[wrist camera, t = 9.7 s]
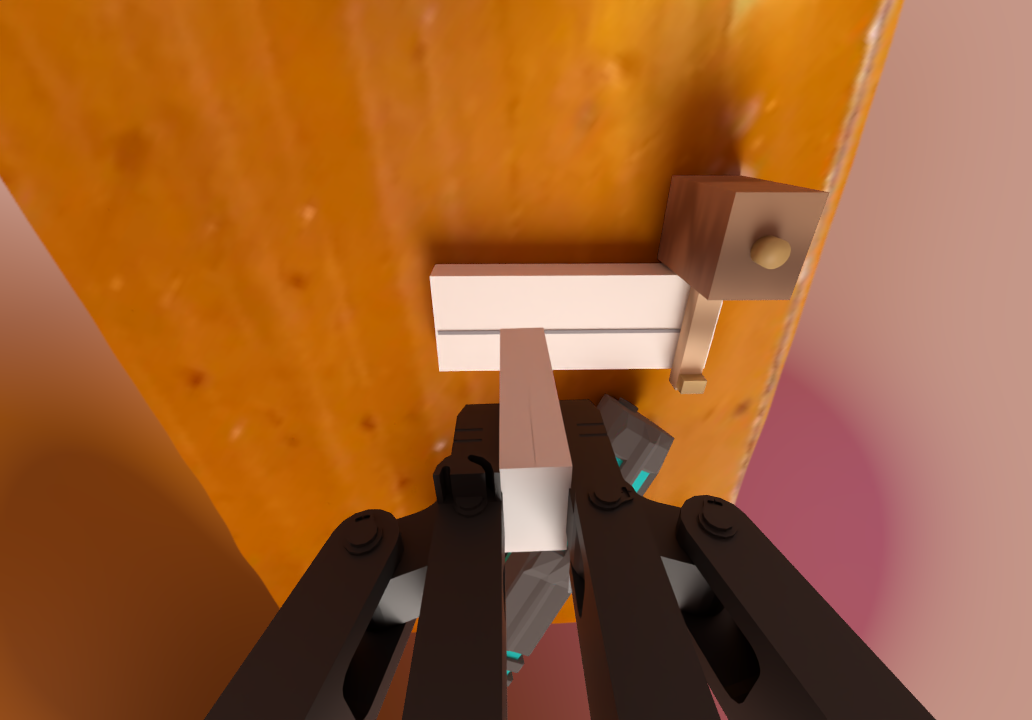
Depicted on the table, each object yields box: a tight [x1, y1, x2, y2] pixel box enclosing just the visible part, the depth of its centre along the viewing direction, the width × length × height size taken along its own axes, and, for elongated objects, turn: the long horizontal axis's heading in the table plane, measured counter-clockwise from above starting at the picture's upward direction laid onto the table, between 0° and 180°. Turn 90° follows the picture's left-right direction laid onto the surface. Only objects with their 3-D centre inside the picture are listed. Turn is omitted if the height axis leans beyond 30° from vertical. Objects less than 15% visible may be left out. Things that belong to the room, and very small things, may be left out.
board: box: [430, 263, 723, 371], centre depth 32 cm, size 8×22×3 cm, turn 90°
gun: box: [505, 394, 674, 686], centre depth 41 cm, size 7×29×15 cm, turn 147°
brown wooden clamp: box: [657, 175, 829, 394], centre depth 28 cm, size 15×5×10 cm, turn 0°
